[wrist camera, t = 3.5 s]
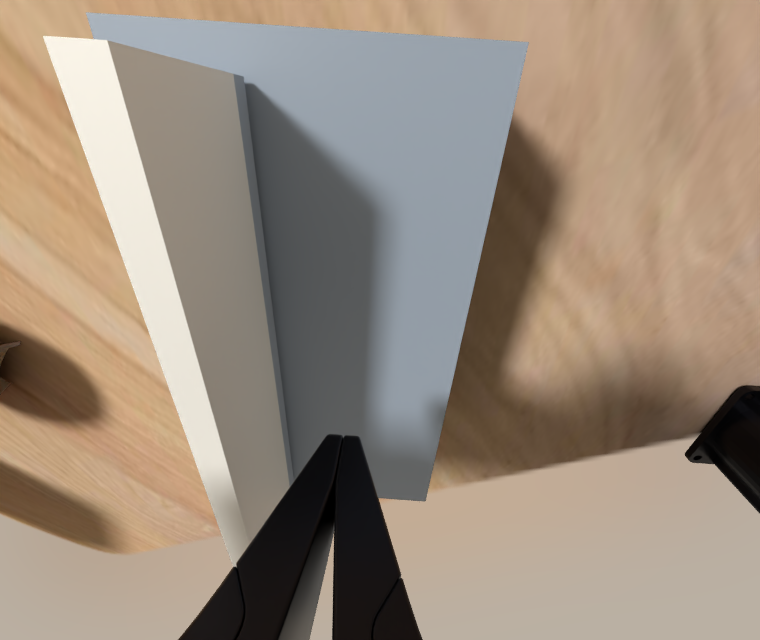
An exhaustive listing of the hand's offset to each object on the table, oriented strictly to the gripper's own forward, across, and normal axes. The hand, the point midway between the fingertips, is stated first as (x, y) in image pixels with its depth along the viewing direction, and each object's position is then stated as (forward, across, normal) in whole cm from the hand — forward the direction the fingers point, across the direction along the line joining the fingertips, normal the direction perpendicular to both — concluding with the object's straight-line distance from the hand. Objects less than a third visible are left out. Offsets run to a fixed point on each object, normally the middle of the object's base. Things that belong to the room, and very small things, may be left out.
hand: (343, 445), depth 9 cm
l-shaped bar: (+4, +5, 0) cm, 6 cm away
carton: (+10, +1, 0) cm, 10 cm away
